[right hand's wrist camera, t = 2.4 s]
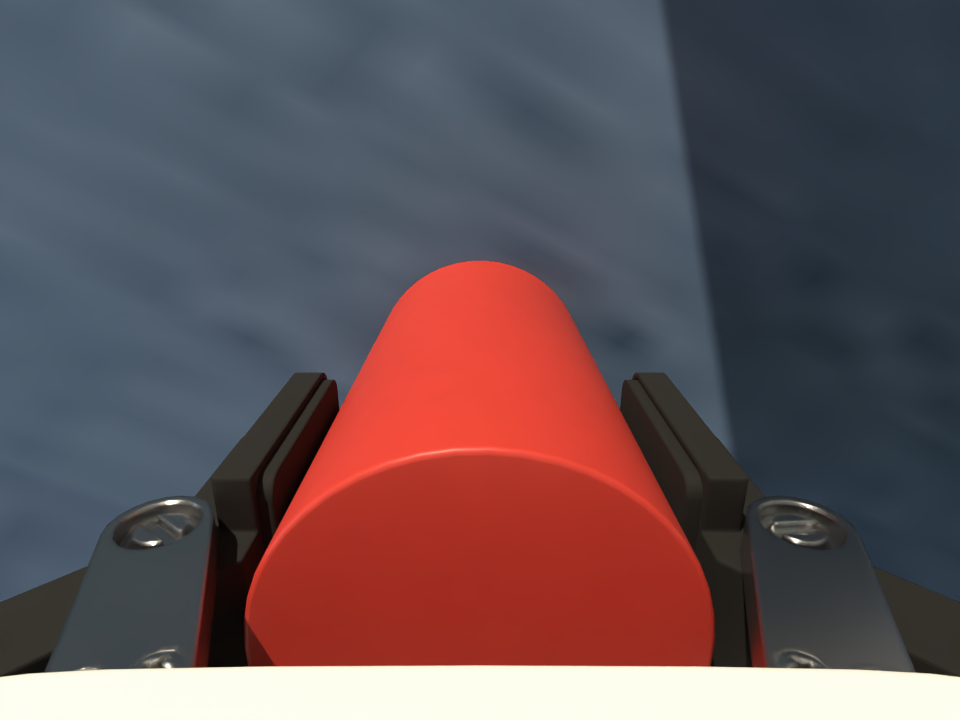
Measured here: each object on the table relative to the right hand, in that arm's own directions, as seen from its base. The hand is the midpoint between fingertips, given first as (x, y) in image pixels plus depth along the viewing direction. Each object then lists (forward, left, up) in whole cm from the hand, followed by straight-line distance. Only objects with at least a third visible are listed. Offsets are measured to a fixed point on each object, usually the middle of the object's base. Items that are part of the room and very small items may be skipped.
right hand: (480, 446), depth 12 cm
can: (0, 0, -5) cm, 5 cm away
